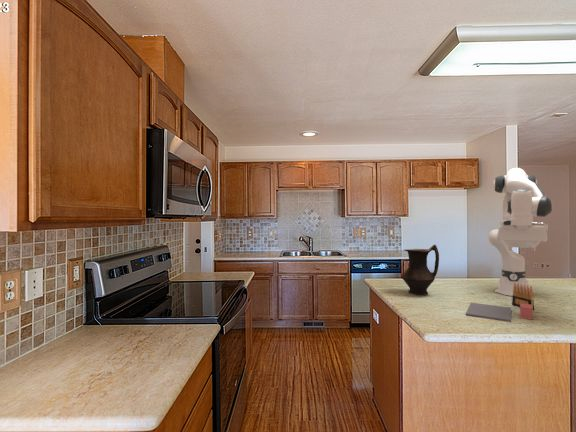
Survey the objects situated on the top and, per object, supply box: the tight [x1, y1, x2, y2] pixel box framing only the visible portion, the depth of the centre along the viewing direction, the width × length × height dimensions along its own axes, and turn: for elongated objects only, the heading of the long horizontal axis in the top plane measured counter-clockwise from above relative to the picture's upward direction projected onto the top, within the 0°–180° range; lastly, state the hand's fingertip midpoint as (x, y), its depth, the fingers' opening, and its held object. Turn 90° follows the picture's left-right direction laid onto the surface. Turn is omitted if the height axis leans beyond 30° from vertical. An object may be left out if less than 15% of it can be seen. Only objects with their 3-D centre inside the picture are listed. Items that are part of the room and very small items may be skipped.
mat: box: [465, 302, 512, 322], centre depth 168 cm, size 24×18×1 cm
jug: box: [401, 244, 440, 296], centre depth 206 cm, size 21×18×30 cm
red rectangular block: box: [519, 303, 533, 320], centre depth 161 cm, size 8×4×5 cm, turn 147°
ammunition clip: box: [511, 283, 535, 311], centre depth 176 cm, size 11×2×12 cm, turn 17°
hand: (521, 250), depth 167 cm, fingers open, 8 cm apart
